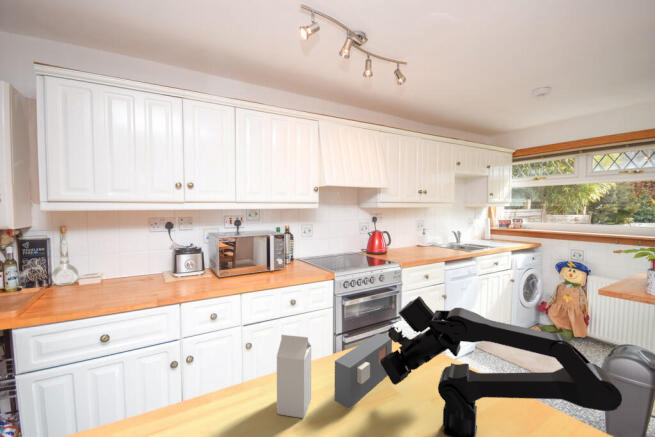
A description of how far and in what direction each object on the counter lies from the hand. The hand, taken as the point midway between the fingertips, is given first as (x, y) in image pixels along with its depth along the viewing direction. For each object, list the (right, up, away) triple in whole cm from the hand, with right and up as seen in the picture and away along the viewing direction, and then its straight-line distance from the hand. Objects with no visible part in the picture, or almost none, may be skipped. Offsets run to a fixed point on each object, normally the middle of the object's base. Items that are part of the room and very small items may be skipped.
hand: (389, 369), depth 80 cm
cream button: (-8, -2, -1) cm, 8 cm away
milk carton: (-26, -8, -4) cm, 27 cm away
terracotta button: (-1, -1, +8) cm, 8 cm away
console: (-6, -7, +5) cm, 11 cm away
